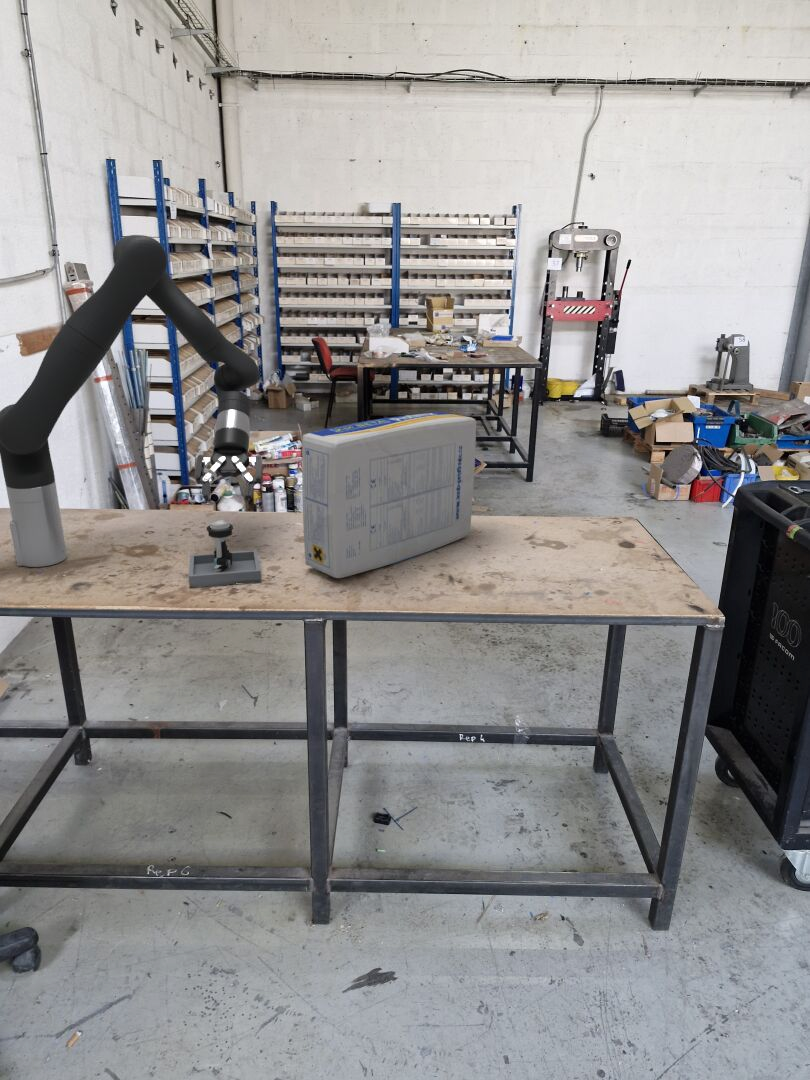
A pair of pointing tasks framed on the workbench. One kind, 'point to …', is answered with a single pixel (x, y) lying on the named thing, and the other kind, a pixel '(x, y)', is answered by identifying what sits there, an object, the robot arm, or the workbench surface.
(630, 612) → the workbench surface
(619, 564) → the workbench surface
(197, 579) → the tray
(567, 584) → the workbench surface
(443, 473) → the construction material bag
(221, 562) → the push button
